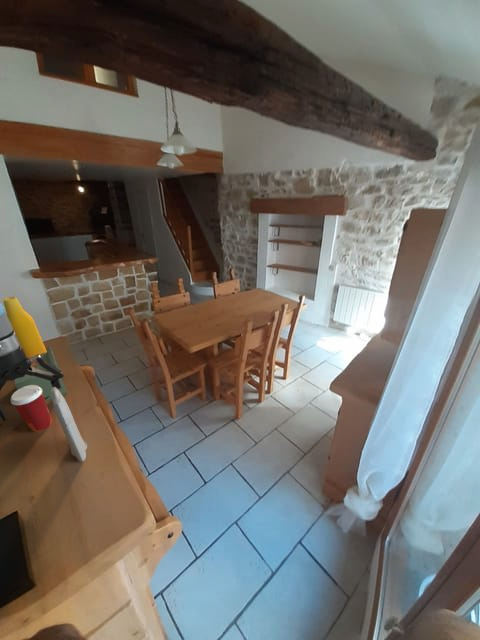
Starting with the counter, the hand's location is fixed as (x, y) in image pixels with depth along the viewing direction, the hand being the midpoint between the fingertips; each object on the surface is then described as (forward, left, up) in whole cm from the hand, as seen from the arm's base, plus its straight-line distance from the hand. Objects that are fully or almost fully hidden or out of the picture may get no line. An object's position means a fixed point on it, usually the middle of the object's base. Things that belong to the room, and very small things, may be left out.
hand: (33, 407), depth 78 cm
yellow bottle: (-33, +34, -8) cm, 48 cm away
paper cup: (0, 0, -8) cm, 8 cm away
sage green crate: (-12, +16, -8) cm, 21 cm away
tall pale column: (+18, -7, -8) cm, 21 cm away
